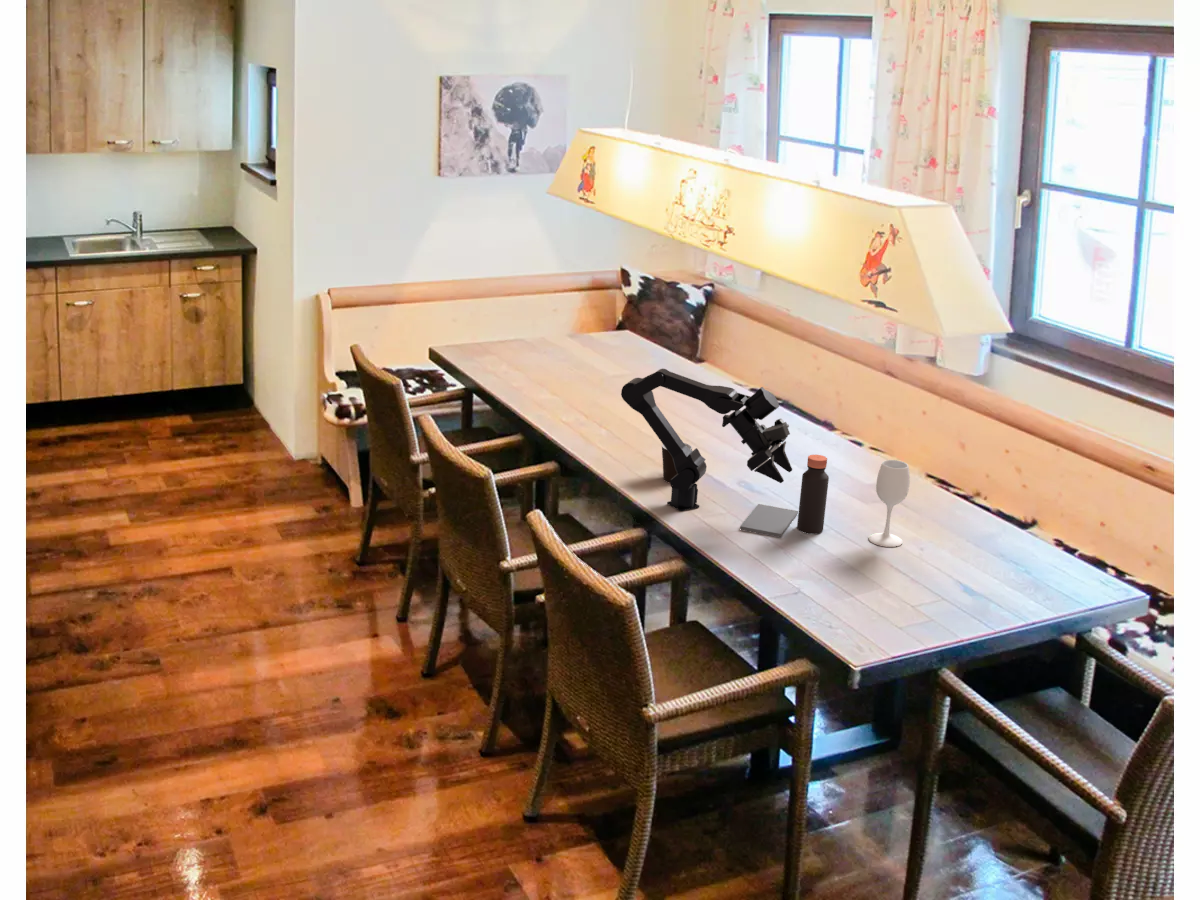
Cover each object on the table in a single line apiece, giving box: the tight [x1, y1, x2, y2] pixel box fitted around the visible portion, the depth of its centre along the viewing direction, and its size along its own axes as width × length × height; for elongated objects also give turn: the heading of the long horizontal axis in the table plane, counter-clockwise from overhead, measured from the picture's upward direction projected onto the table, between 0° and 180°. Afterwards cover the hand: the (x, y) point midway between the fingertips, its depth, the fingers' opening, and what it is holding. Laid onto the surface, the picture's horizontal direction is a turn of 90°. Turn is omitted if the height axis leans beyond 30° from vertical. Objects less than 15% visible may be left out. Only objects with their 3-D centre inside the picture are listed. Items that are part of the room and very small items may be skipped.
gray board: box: [739, 503, 799, 538], centre depth 343 cm, size 11×18×1 cm, turn 159°
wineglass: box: [868, 459, 911, 548], centre depth 332 cm, size 9×9×21 cm
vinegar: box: [796, 454, 830, 535], centre depth 337 cm, size 7×7×20 cm
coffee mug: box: [661, 442, 693, 484], centre depth 370 cm, size 12×9×10 cm
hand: (786, 476), depth 338 cm, fingers open, 9 cm apart
